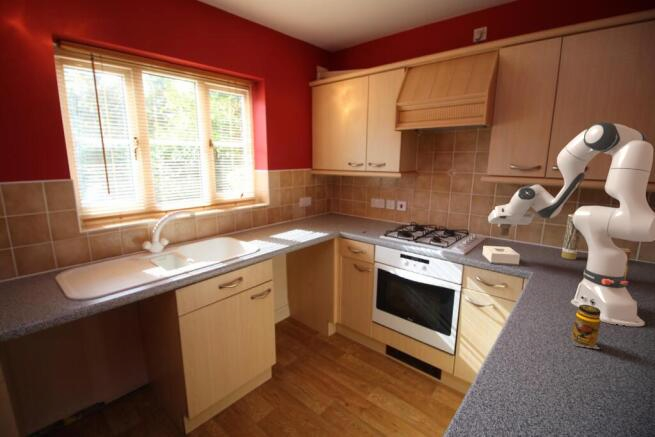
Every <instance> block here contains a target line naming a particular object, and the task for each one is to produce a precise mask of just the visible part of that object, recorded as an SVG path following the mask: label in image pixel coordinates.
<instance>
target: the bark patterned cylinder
mask: <svg viewBox="0 0 655 437" xmlns="http://www.w3.org/2000/svg"><path fill="white" fill-rule="evenodd" d="M573 215H574V213H572V214H571V213H569V214H568V215H567V220H566V226H565V233H564V239H563V244H562V251H561V257H562V258H563V259H566V260H571V261H572V260H573V261H574V260H576V259H577V255H578V250H579V245H580V244H579V243H580V240H581V235H582V233H581V232H580V231H579V230H578V229H577V228H576V227H575V226H574V224H573Z"/></svg>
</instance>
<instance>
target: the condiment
mask: <svg viewBox="0 0 655 437" xmlns="http://www.w3.org/2000/svg"><path fill="white" fill-rule="evenodd" d="M600 313H601V312H600V310H599V309H598V308H596V307H593V306H590V305H580V306H579V308H578V310H577V312H576V313H575V317H574V323H573V327H572V332H571V333H572V339H573V340H574V341H575V342H576V343H578V344H581V345H584V346H590V347H592V346H595V345H596V343H597V341H598V336H599V332H600V326H601V322H602V321H601V320H600V318H599V317H600Z"/></svg>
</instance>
